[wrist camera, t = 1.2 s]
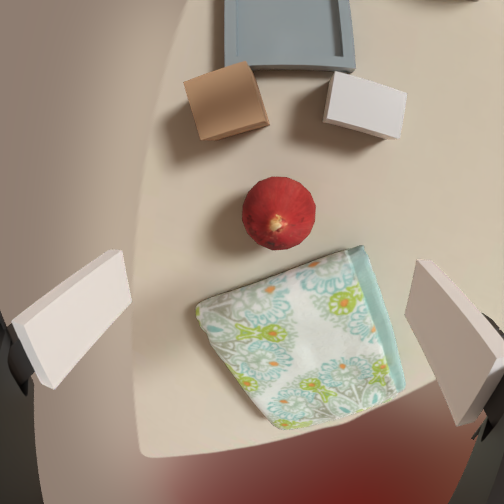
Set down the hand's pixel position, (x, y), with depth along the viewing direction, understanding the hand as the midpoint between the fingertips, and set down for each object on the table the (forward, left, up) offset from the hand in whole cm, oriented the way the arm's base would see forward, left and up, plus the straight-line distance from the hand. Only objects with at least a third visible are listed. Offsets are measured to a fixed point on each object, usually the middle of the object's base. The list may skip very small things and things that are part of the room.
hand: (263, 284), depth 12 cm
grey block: (-9, +7, -16) cm, 20 cm away
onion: (0, 0, -16) cm, 16 cm away
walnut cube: (-9, -4, -16) cm, 19 cm away
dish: (-18, +1, -16) cm, 24 cm away
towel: (+16, +4, -16) cm, 23 cm away
